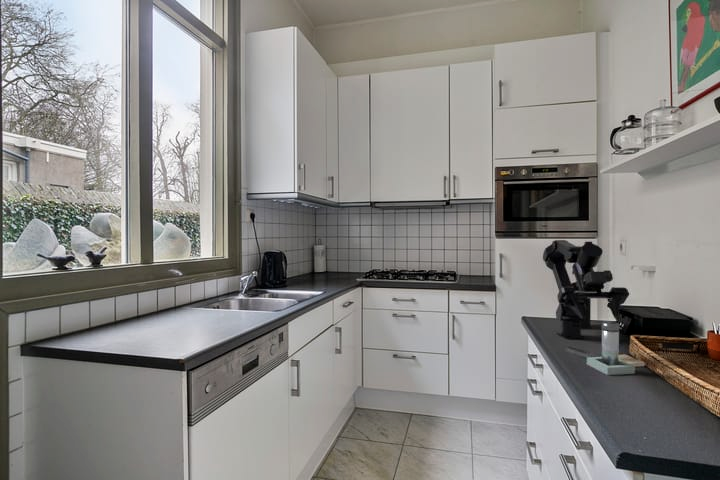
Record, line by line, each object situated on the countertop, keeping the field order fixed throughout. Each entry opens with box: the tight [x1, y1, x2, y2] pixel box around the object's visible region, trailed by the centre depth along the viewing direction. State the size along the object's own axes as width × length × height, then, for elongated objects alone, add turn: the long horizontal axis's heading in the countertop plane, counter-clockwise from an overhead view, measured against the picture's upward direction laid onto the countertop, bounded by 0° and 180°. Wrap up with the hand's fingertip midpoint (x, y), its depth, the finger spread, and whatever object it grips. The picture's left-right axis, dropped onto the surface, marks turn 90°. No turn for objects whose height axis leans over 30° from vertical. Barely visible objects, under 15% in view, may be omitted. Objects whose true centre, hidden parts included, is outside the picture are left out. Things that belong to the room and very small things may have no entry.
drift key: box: [565, 346, 595, 359], centre depth 118 cm, size 8×2×1 cm, turn 25°
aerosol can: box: [571, 281, 592, 330], centre depth 149 cm, size 8×8×20 cm
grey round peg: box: [601, 320, 620, 366], centre depth 105 cm, size 4×4×13 cm
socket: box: [586, 356, 636, 376], centre depth 106 cm, size 8×8×2 cm
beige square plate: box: [619, 353, 646, 368], centre depth 110 cm, size 7×7×1 cm
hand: (600, 318), depth 112 cm, fingers open, 9 cm apart
